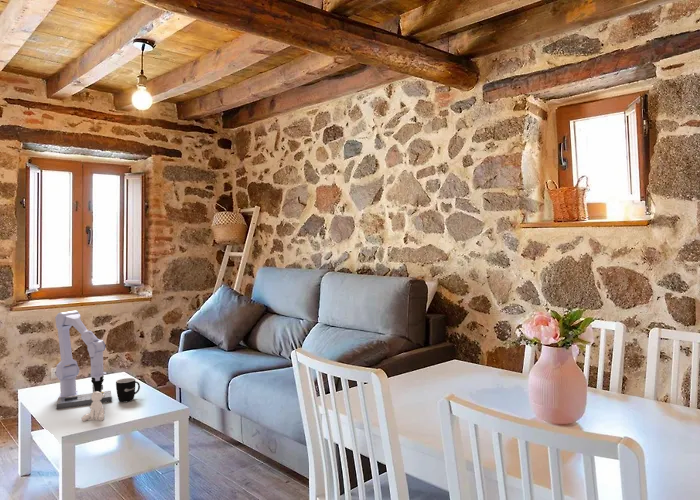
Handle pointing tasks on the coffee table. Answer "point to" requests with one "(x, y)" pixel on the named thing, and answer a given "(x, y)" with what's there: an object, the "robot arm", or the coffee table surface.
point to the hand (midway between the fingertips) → (98, 392)
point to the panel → (81, 400)
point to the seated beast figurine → (95, 408)
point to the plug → (101, 389)
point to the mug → (126, 389)
